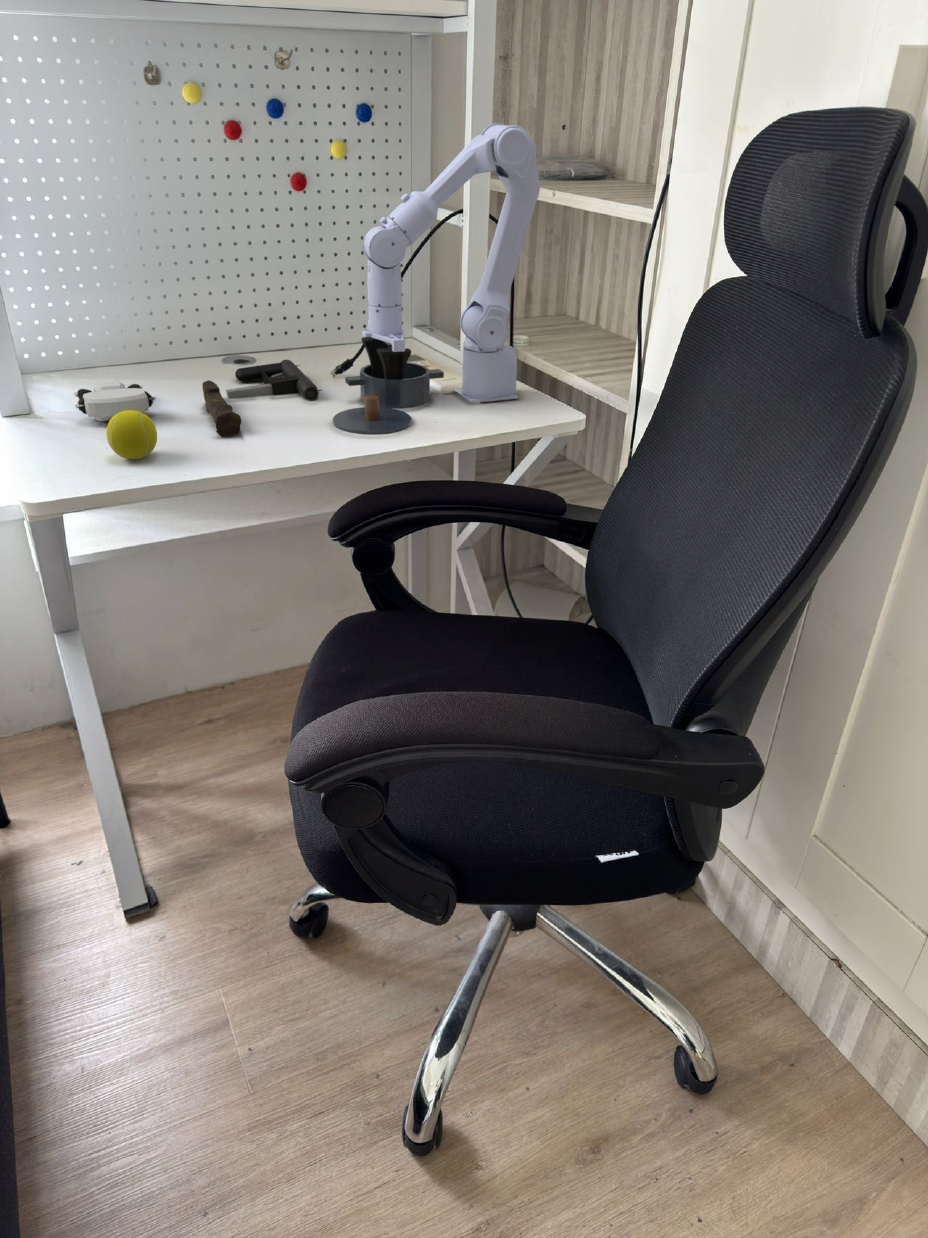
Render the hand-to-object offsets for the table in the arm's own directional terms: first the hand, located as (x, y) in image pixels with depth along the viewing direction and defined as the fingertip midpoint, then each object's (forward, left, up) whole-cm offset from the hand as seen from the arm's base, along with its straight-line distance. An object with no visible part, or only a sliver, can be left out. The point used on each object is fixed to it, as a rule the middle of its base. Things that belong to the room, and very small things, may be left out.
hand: (386, 383), depth 162 cm
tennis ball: (+44, +15, -3) cm, 47 cm away
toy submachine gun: (+18, -13, -3) cm, 23 cm away
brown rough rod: (+30, +1, -3) cm, 30 cm away
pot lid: (+6, +11, -3) cm, 13 cm away
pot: (-2, 0, -3) cm, 4 cm away
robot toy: (+45, -8, -3) cm, 46 cm away
